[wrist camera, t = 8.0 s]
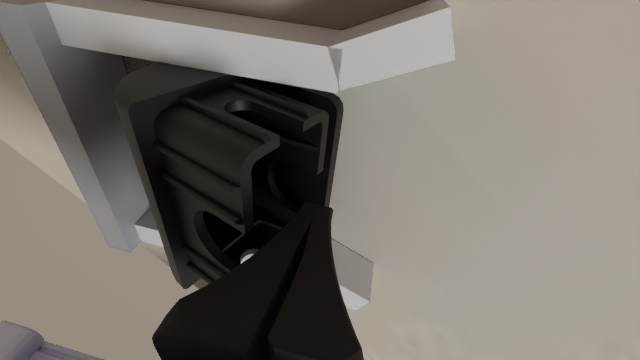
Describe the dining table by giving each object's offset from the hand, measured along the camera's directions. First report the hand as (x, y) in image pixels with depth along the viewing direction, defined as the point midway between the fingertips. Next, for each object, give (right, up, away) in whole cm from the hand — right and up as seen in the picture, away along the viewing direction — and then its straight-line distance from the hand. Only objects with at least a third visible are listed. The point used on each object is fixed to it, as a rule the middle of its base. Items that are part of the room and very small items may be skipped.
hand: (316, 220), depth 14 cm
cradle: (-4, +4, +4) cm, 7 cm away
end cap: (-2, +3, +3) cm, 5 cm away
